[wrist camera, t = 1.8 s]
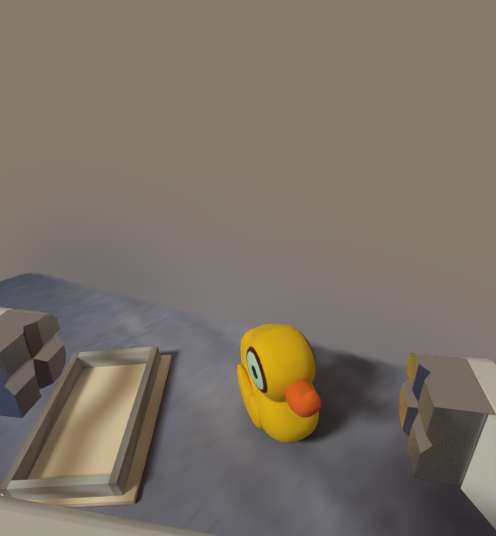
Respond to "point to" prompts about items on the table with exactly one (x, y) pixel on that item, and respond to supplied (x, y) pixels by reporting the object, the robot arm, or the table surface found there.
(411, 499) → the table surface
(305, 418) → the duckling
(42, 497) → the shallow wooden tray
